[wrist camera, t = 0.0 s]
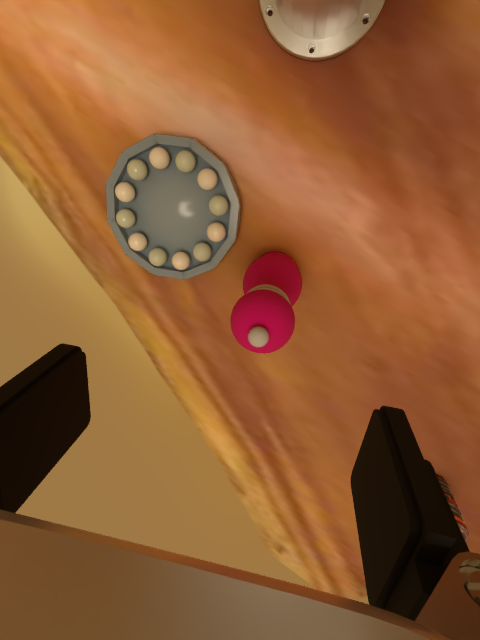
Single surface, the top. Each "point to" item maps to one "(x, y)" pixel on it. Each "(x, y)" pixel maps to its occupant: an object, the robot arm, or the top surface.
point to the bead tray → (173, 206)
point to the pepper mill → (267, 303)
